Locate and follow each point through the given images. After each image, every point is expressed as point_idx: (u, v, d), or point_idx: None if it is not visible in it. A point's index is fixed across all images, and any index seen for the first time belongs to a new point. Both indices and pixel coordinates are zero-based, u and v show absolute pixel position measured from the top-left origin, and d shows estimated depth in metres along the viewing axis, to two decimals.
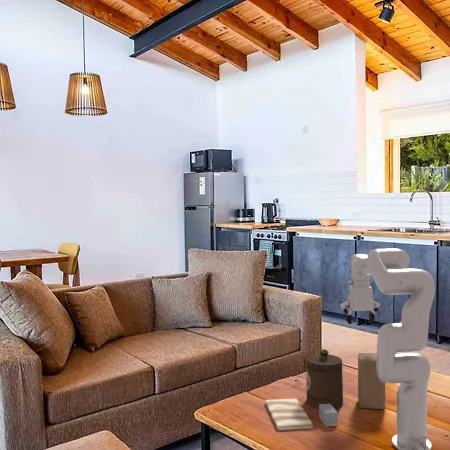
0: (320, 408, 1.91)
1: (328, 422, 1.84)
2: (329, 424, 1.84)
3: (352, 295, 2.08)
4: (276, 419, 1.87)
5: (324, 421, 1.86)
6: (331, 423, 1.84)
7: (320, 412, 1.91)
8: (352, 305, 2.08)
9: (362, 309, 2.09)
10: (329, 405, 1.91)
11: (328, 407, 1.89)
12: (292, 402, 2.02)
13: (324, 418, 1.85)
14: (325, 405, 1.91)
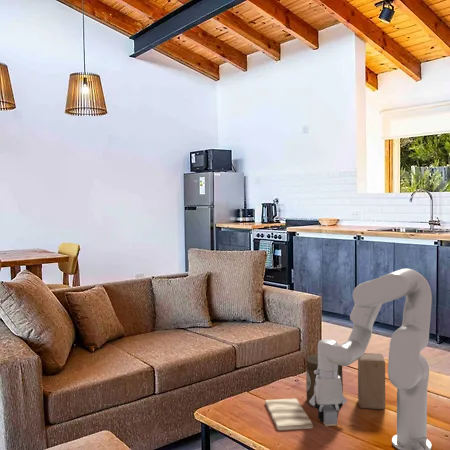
0: None
1: (328, 422, 1.84)
2: (329, 424, 1.84)
3: (318, 387, 1.85)
4: (276, 419, 1.87)
5: (324, 421, 1.86)
6: (331, 423, 1.84)
7: None
8: (318, 398, 1.85)
9: (329, 403, 1.85)
10: (329, 405, 1.91)
11: (328, 407, 1.89)
12: (292, 402, 2.02)
13: (324, 418, 1.85)
14: (325, 405, 1.91)
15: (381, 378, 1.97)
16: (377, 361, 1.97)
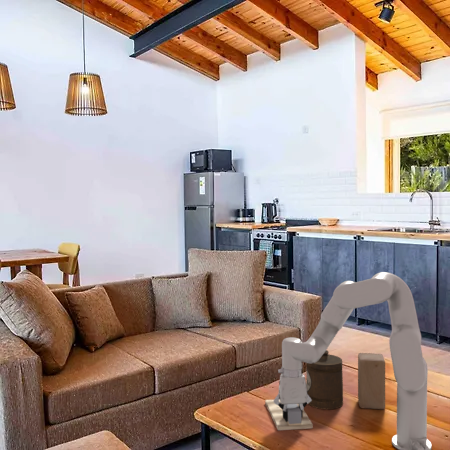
0: None
1: (292, 421, 1.82)
2: (293, 423, 1.82)
3: (282, 386, 1.82)
4: (276, 419, 1.87)
5: (288, 420, 1.83)
6: (295, 422, 1.82)
7: None
8: (282, 398, 1.82)
9: (293, 402, 1.83)
10: (294, 404, 1.88)
11: (292, 406, 1.86)
12: None
13: (288, 417, 1.83)
14: (290, 404, 1.88)
15: (381, 378, 1.97)
16: (377, 361, 1.97)
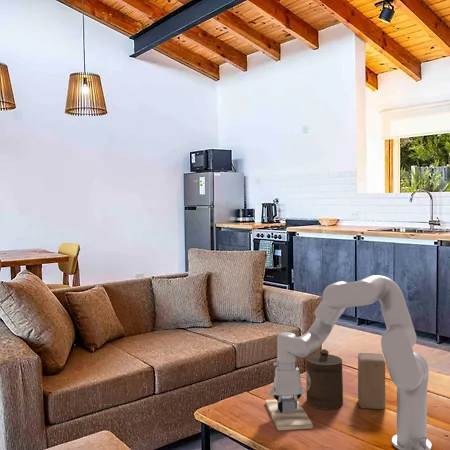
0: None
1: (286, 411, 1.90)
2: (287, 413, 1.90)
3: (277, 379, 1.91)
4: (276, 419, 1.87)
5: (283, 410, 1.91)
6: (289, 412, 1.90)
7: None
8: (277, 389, 1.91)
9: (288, 394, 1.91)
10: None
11: (287, 397, 1.95)
12: None
13: (283, 408, 1.91)
14: None
15: (381, 378, 1.97)
16: (377, 361, 1.97)
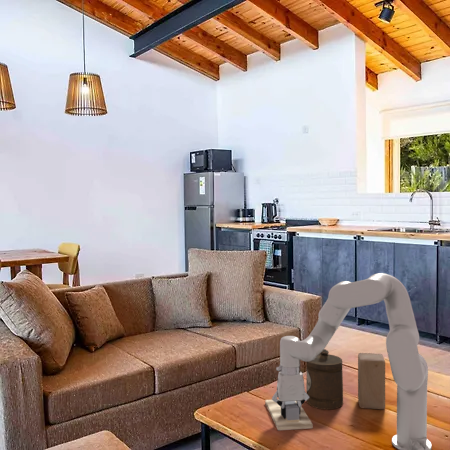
0: None
1: (290, 417, 1.85)
2: (291, 419, 1.85)
3: (280, 384, 1.86)
4: (276, 419, 1.87)
5: (286, 417, 1.86)
6: (293, 418, 1.85)
7: None
8: (280, 395, 1.85)
9: (291, 399, 1.86)
10: (292, 401, 1.91)
11: (291, 403, 1.89)
12: None
13: (286, 414, 1.86)
14: (288, 401, 1.91)
15: (381, 378, 1.97)
16: (377, 361, 1.97)
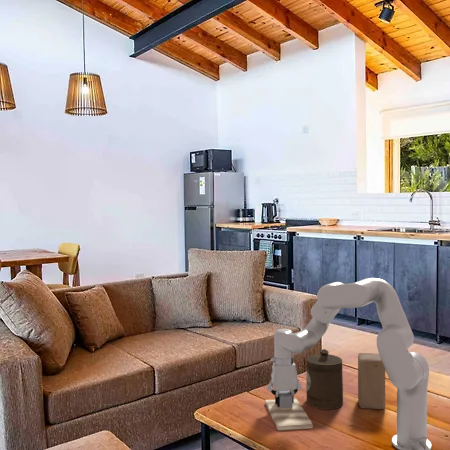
0: None
1: (283, 406, 1.95)
2: (284, 408, 1.95)
3: (274, 374, 1.96)
4: (276, 419, 1.87)
5: (280, 405, 1.97)
6: (286, 407, 1.95)
7: None
8: (274, 385, 1.96)
9: (285, 389, 1.96)
10: (286, 390, 2.02)
11: (284, 392, 2.00)
12: None
13: (280, 402, 1.96)
14: None
15: (381, 378, 1.97)
16: (377, 361, 1.97)
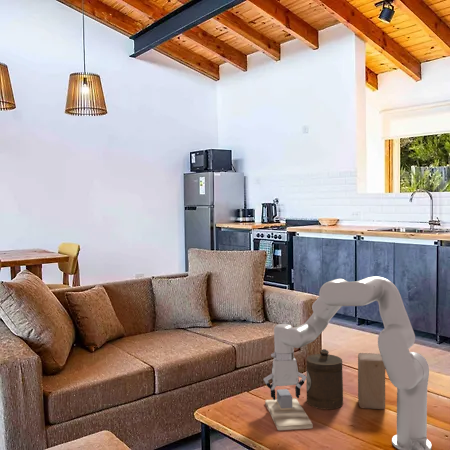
0: (277, 393, 2.02)
1: (283, 406, 1.95)
2: (284, 408, 1.95)
3: (275, 369, 1.96)
4: (276, 419, 1.87)
5: (280, 405, 1.97)
6: (286, 407, 1.95)
7: (277, 397, 2.02)
8: (275, 380, 1.96)
9: (286, 384, 1.96)
10: (286, 390, 2.02)
11: (284, 392, 2.00)
12: (292, 402, 2.02)
13: (280, 402, 1.96)
14: (282, 390, 2.02)
15: (381, 378, 1.97)
16: (377, 361, 1.97)
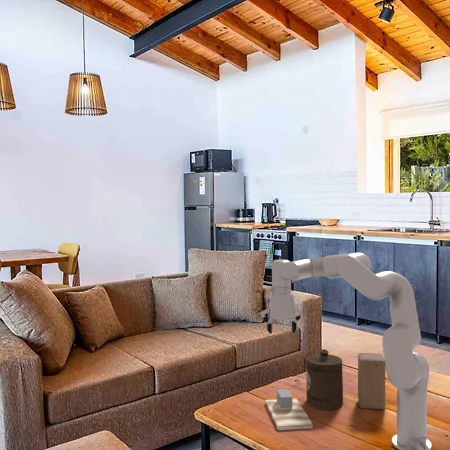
0: (277, 393, 2.02)
1: (283, 406, 1.95)
2: (284, 408, 1.95)
3: (272, 303, 1.98)
4: (276, 419, 1.87)
5: (280, 405, 1.97)
6: (286, 407, 1.95)
7: (277, 397, 2.02)
8: (272, 313, 1.98)
9: (282, 317, 1.98)
10: (286, 390, 2.02)
11: (284, 392, 2.00)
12: (292, 402, 2.02)
13: (280, 402, 1.96)
14: (282, 390, 2.02)
15: (381, 378, 1.97)
16: (377, 361, 1.97)
